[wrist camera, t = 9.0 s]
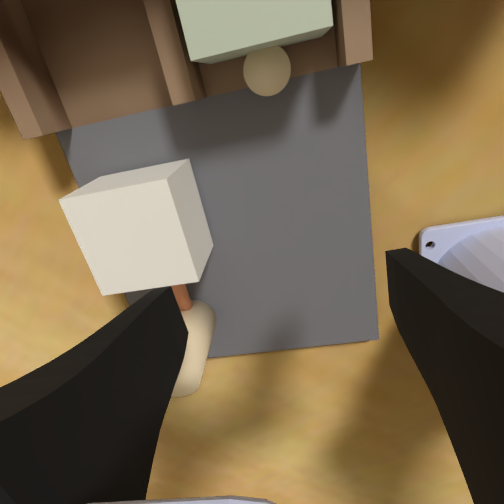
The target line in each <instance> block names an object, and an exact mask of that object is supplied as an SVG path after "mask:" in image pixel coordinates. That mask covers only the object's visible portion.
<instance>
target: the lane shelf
mask: <svg viewBox="0 0 504 504" xmlns="http://www.w3.org/2000/svg"><path fill="white" fill-rule="evenodd" d="M331 6H332V17H333V26H332V27H331V28H330V29H329V30H328V31H327V32H326V33H325V34H324V35H323V36H322V37H320V38H316V39H311V40H307V41H303V42H299V43H295V44H291V45H287V46H283V47H281V48H282V49H283V50H284V51H285V52H286V54H287V55H288V58H289V60H290V64H291V73H290V78H292V77H297V76H301V75H305V74H310V73H314V72H318V71H323V70H327V69H331V68H336V67H341V66H348V65H352V64H356V63H361V62H365V61H369V60H373V49H372V31H371V12H370V0H331ZM246 57H247V55H246V56H242V57H238V58H234V59H230V60H226V61H222V62H218V63H213V64H207V63H200V62H194V61H191V60H190V56H189V52H188V48H187V44H186V40H185V36H184V32H183V28H182V24H181V20H180V16H179V12H178V8H177V4H176V0H0V91H1V93H2V95H3V97H4V99H5V101H6V104H7V106H8V108H9V110H10V112H11V114H12V116H13V118H14V121H15V123H16V125H17V127H18V129H19V131H20V133H21V135H22V138H23V140H26V139H30V138H34V137H39V136H43V135H47V134H51V133H55V132H59V131H63V130H67V129H71V128H75V127H79V126H84V125H88V124H92V123H97V122H101V121H105V120H110V119H114V118H118V117H123V116H127V115H131V114H136V113H140V112H144V111H149V110H153V109H158V108H162V107H166V106H171V105H173V106H174V105H178V104H182V103H187V102H191V101H195V100H199V99H202V98H206V97H210V96H214V95H218V94H223V93H227V92H231V91H236V90H240V89H244V88H249V87H248V85H247V83H246V81H245V79H244V74H243V67H244V62H245V59H246Z"/></svg>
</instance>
